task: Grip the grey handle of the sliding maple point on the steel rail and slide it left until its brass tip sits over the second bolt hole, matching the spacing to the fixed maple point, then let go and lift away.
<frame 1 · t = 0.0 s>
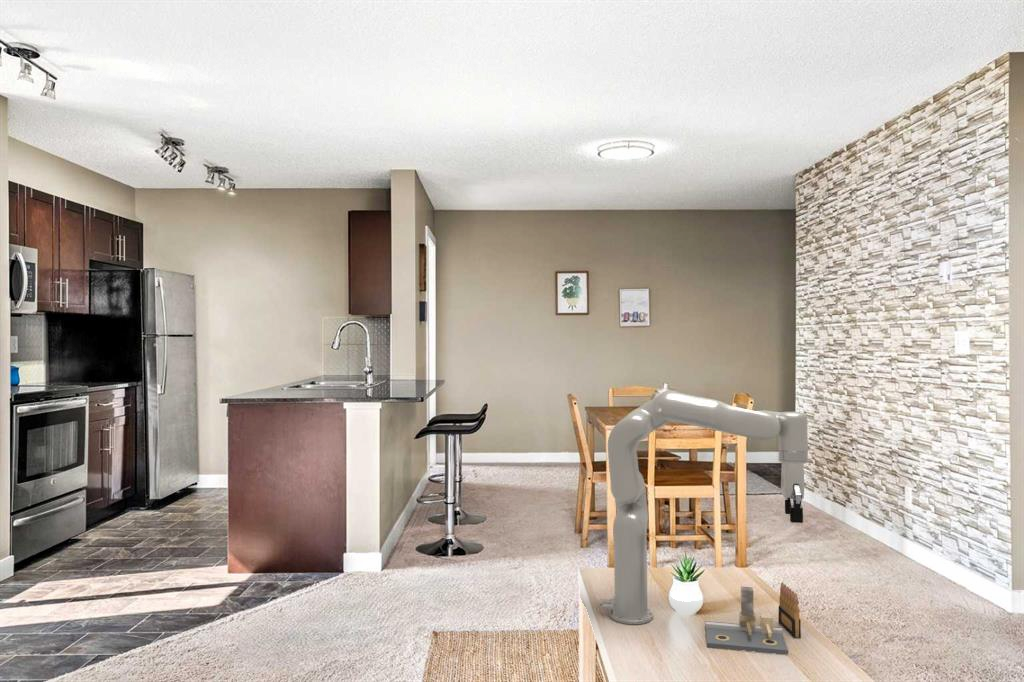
hand: (793, 518, 192), 31 cm above the table, tool pointing down, fingers open, 9 cm apart
hole plate: (744, 639, 186), on the table
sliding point: (748, 612, 186), point 7 cm above the table, slide at 0.0 cm
ammunition clip: (789, 631, 192), on the table
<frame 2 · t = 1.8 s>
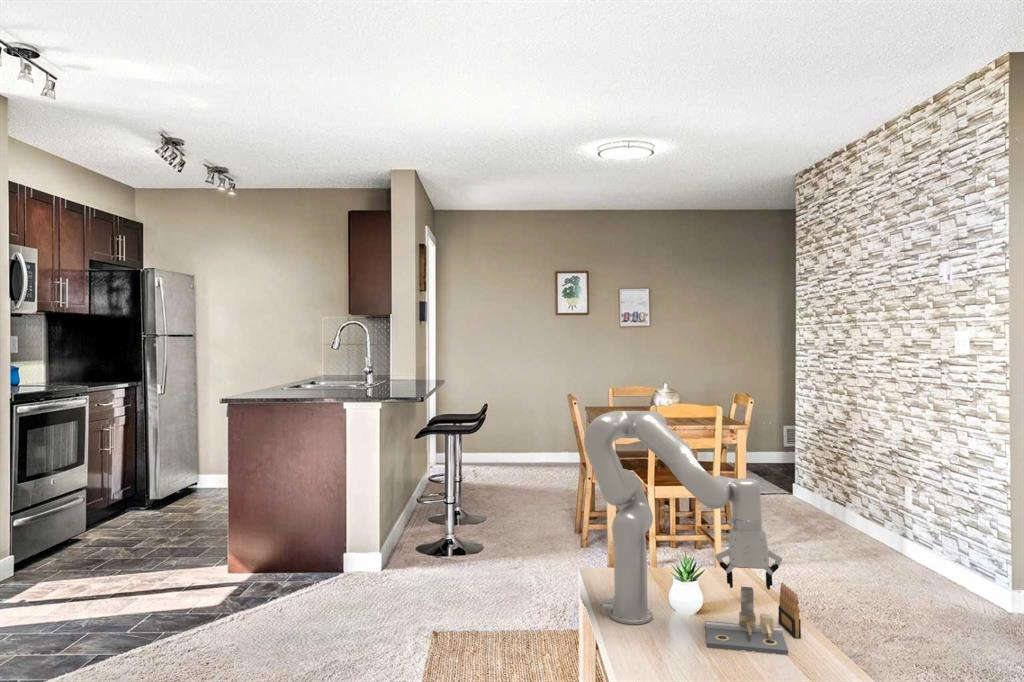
hand: (749, 587, 189), 13 cm above the table, tool pointing down, fingers open, 9 cm apart
nothing on the table moved.
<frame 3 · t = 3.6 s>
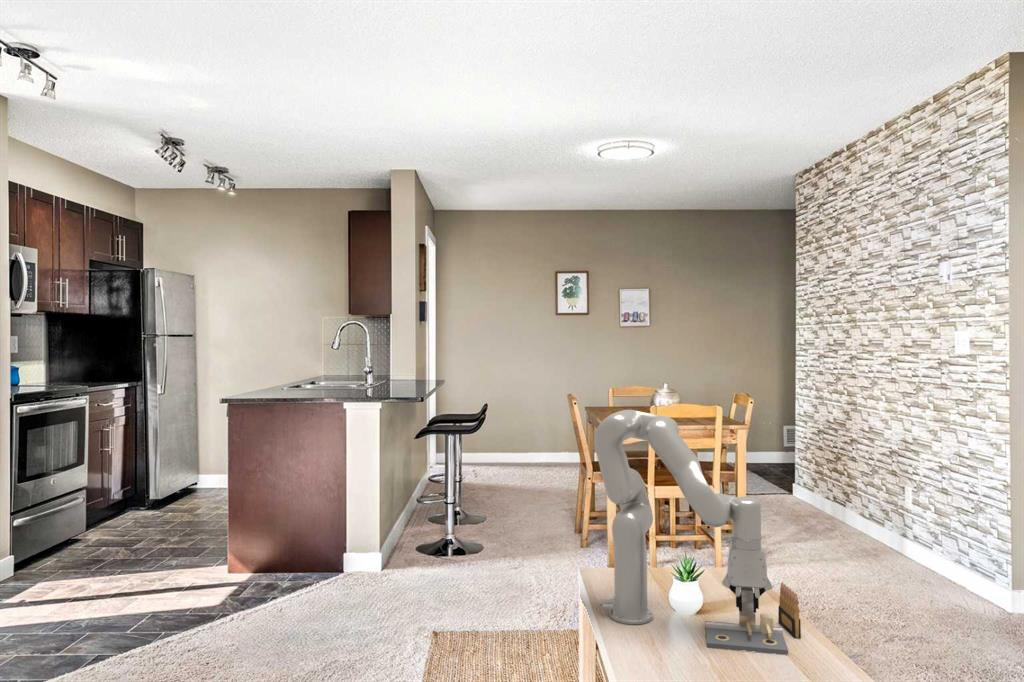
hand: (747, 609, 189), 7 cm above the table, tool pointing down, fingers closed on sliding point, 3 cm apart
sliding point: (748, 612, 186), point 7 cm above the table, slide at 0.0 cm, touching gripper
everything else where it was.
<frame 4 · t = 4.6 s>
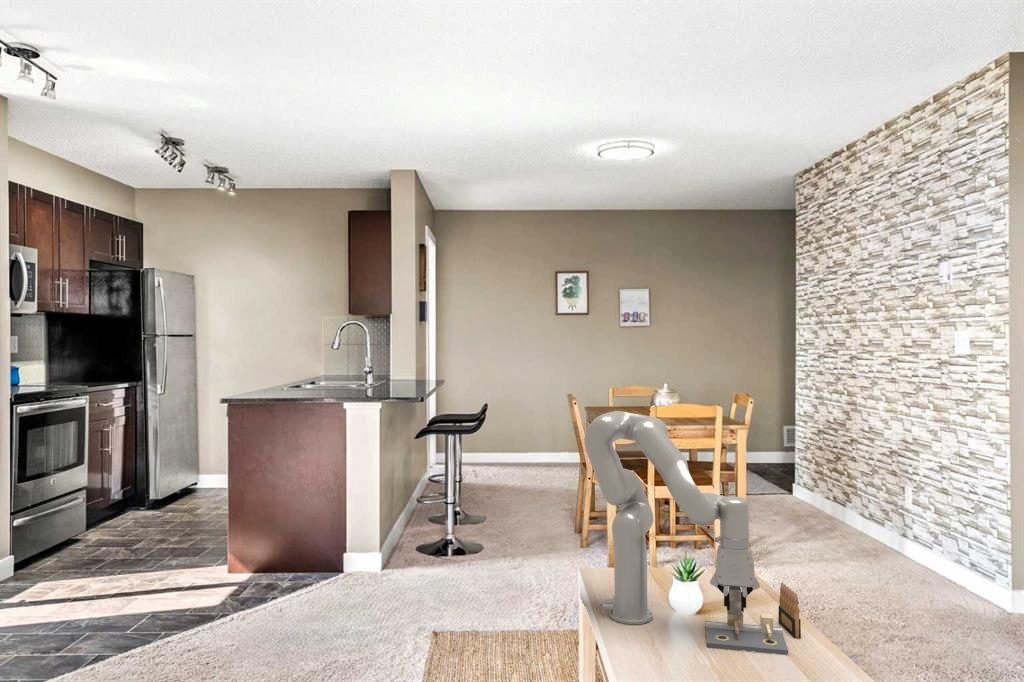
hand: (735, 608, 190), 7 cm above the table, tool pointing down, fingers closed on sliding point, 3 cm apart
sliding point: (735, 611, 187), point 7 cm above the table, slide at 3.2 cm, touching gripper
everything else where it was.
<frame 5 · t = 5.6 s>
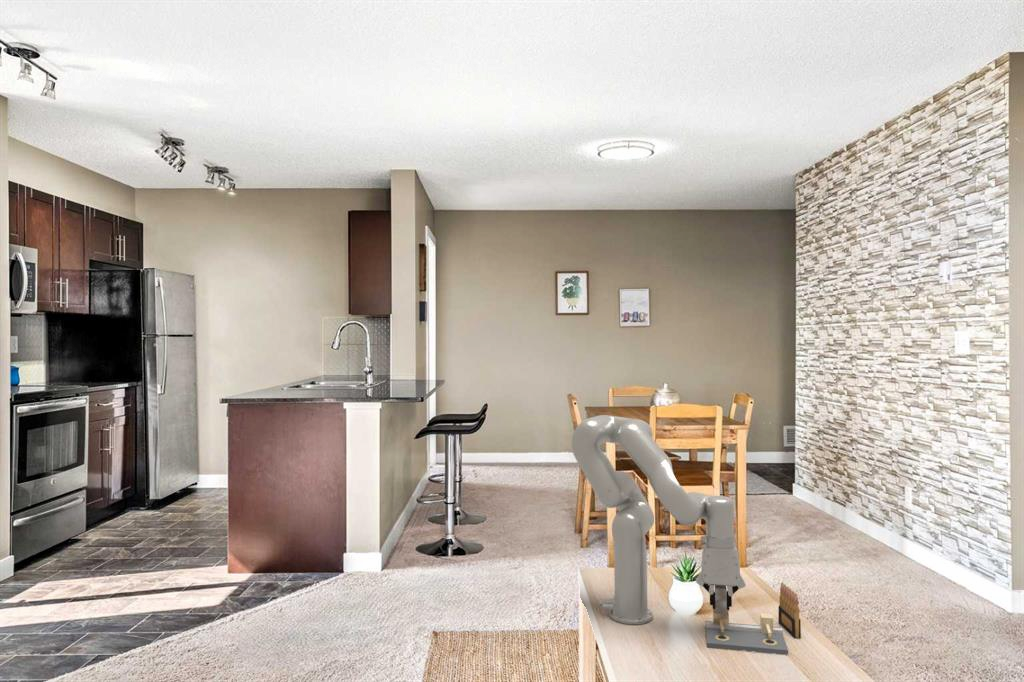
hand: (720, 607, 191), 7 cm above the table, tool pointing down, fingers closed on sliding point, 3 cm apart
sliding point: (721, 609, 188), point 7 cm above the table, slide at 7.0 cm, touching gripper
everything else where it was.
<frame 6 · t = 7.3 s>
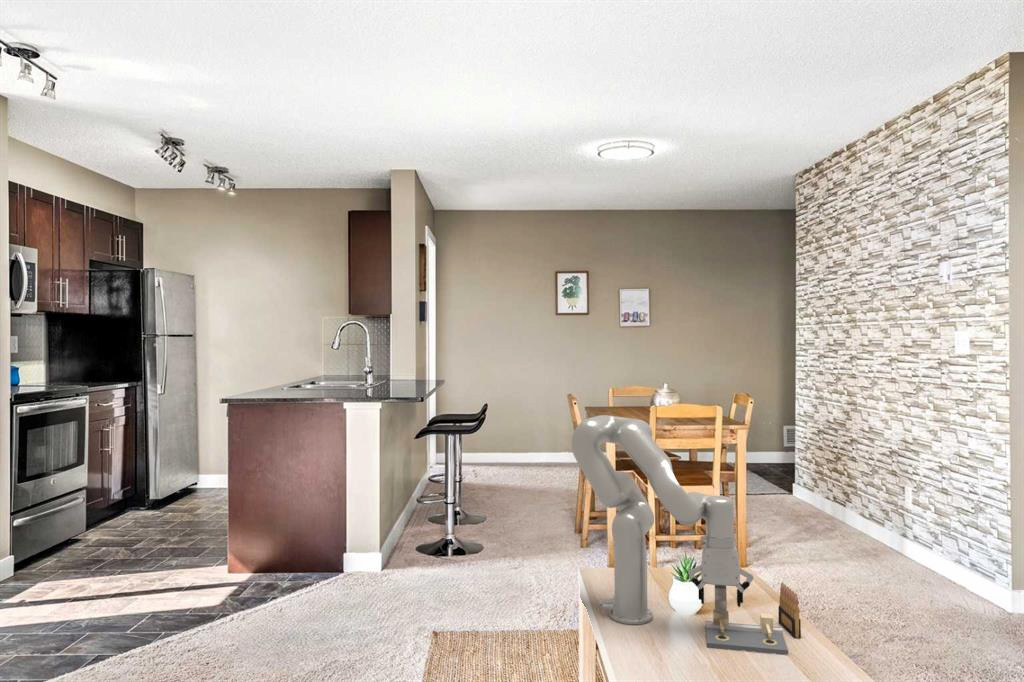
hand: (720, 603, 191), 8 cm above the table, tool pointing down, fingers open, 9 cm apart
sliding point: (721, 609, 188), point 7 cm above the table, slide at 7.0 cm
everything else where it was.
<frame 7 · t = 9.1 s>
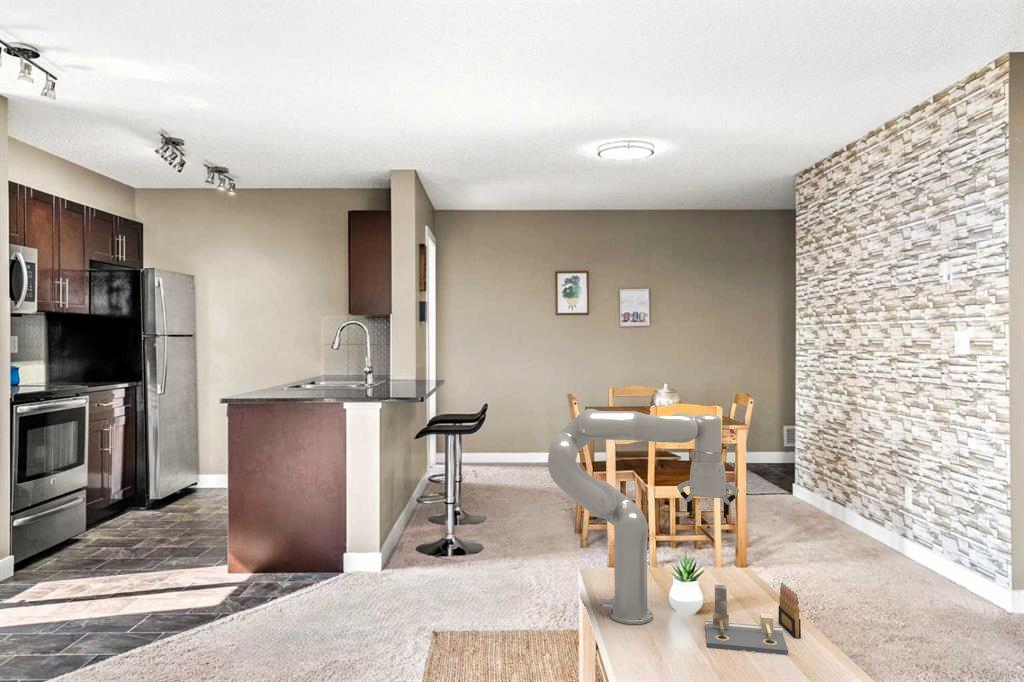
hand: (707, 515, 201), 30 cm above the table, tool pointing down, fingers open, 9 cm apart
nothing on the table moved.
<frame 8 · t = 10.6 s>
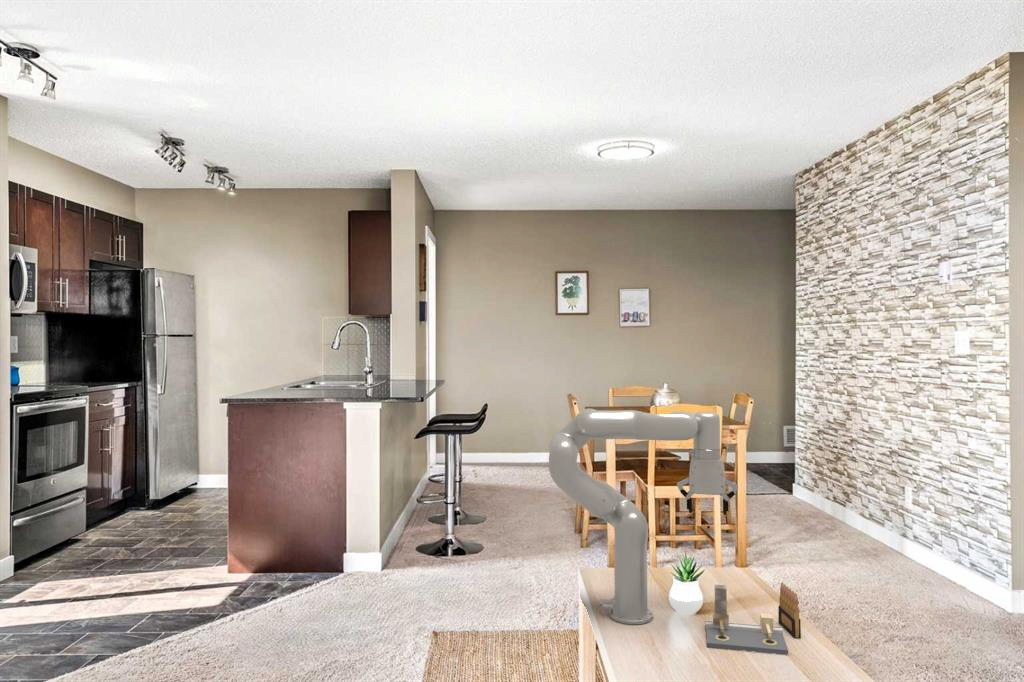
hand: (707, 512, 202), 30 cm above the table, tool pointing down, fingers open, 9 cm apart
nothing on the table moved.
at the end: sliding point slide at 7.0 cm; the gripper is holding nothing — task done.
